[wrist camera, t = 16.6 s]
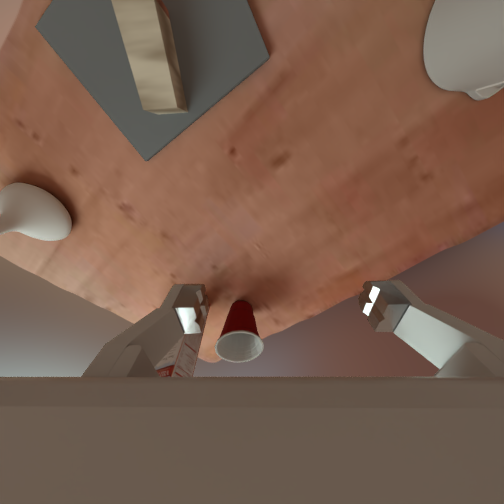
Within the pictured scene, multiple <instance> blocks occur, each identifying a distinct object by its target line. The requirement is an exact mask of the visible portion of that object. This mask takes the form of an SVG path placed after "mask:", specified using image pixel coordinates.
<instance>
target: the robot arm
mask: <svg viewBox="0 0 504 504" xmlns="http://www.w3.org/2000/svg"><path fill="white" fill-rule="evenodd" d="M424 63H425V67H426V70H427V73H428V75H429V77H430V78H431V80H432V81H433V82H434V83H435V84H436V85H437V86H438V87H440V88H442V89H445V90H449V91H462V92H466V93H467V94H468V95H469V96H470V97H472V98H473V99H475V100H483V99H486V98H489V97H491V96H492V95H494V94H495V93H497V92H498V91H499V90H501V89H502V88H503V87H504V0H435V3H434V5H433V8H432V10H431V13H430V16H429V19H428V23H427V27H426V32H425V38H424ZM363 289H364V291H363V292H361V293H360V295H359V298H358V300H359V306H360V308H361V310H362V312H363V313H365V314H366V315H368V319H367V320H368V321H369V323H370V325H371V326H372V328H373V329H374V331H376V332H394V334H396V335H397V336H398V337H400V338H401V339H402V340H403V341H405V342H406V343H407V344H409V345H410V346H411V347H413V348H414V349H415V350H416V351H417V352H419V353H420V354H421V355H423V356H424V357H425V358H426V359H428V360H429V361H430V362H432V363H433V364H434V365H435V366H437V367H438V368H439V369H440V370H439V371H438V372H437V373H436V374H435V375H434V377H160V376H159V374H158V373H157V371H156V370H155V368H154V367H155V366H156V365H157V364H158V363H159V362H160V361H161V360H162V359H163V357H164V356H165V355H166V354H167V353H168V352H169V351H170V350H171V349H172V348H173V347H174V345H175V344H176V343H177V342H178V341H179V340H180V339H181V338H182V337H183V336H184V334H193V333H201V332H202V329H203V325H204V322H205V321H204V316H205V315H206V314H207V311H208V297H207V295H205V291H206V288H205V285H204V284H175V285H173V286H172V288H171V290H170V291H169V293H168V295H167V297H166V298H165V300H164V302H163V304H162V305H161V307H160V308H157V309H155V310H154V311H152V312H151V313H150V314H148V315H147V316H145V317H144V318H142V319H141V320H139V321H138V322H137V323H135V324H134V325H132V326H131V327H129V328H128V329H126V330H125V331H124V332H122V333H121V334H119V335H118V336H116V337H115V338H113V339H112V340H111V341H109V342H108V343H106V344H105V345H104V346H103V348H102V349H101V351H100V352H99V353H98V355H97V356H96V357H95V359H94V360H93V361H92V363H91V364H90V365H89V367H88V368H87V369H86V371H85V372H84V373H83V375H82V376H81V377H0V504H504V340H501V339H499V338H497V337H495V336H493V335H491V334H489V333H487V332H485V331H483V330H481V329H479V328H477V327H475V326H472V325H470V324H468V323H466V322H464V321H462V320H460V319H458V318H456V317H454V316H452V315H450V314H448V313H446V312H444V311H441V310H439V309H437V308H435V307H433V306H431V305H426V304H425V303H423V302H422V301H421V300H420V299H419V298H418V297H417V296H416V295H415V294H414V293H413V292H412V291H411V290H410V289H409V288H408V287H407V286H406V285H405V284H404V283H403V282H401V281H399V280H387V281H366V282H365V283H364V284H363Z"/></svg>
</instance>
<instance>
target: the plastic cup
mask: <svg viewBox="0 0 504 504" xmlns="http://www.w3.org/2000/svg"><path fill="white" fill-rule="evenodd" d="M215 350H216V353H217V354H218V355H219V357H220V358H222V359H224V360H226V361H230V362H246V361H249V360H252V359H254V358H256V357H257V356H259V355H260V354H261V352H262V351H263V341H262V340H261V338H260V337H259V334H258V332H257V327H256V322H255V318H254V315H253V310H252V306H251V305H250V304H249V303H248V302H246V301H237V302H235V303H233V304H232V306H231V308H230V311H229V314H228V316H227V319H226V322H225V325H224V328H223V330H222V333H221V335H220V338H219V339H218V341H217V343H216V345H215Z"/></svg>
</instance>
